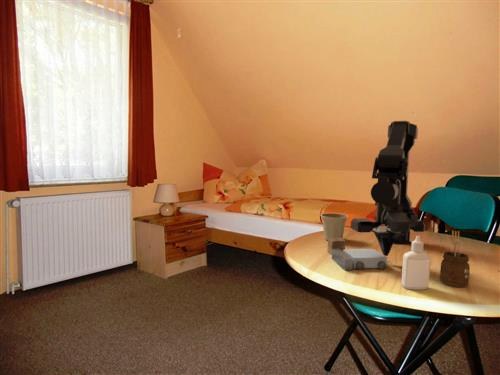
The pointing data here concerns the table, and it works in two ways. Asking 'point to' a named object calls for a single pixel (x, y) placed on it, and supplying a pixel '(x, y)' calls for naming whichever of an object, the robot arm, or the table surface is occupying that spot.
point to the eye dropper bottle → (416, 267)
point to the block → (335, 244)
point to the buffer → (342, 259)
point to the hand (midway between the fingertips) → (385, 255)
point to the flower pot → (333, 225)
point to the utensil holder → (455, 266)
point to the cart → (366, 258)
